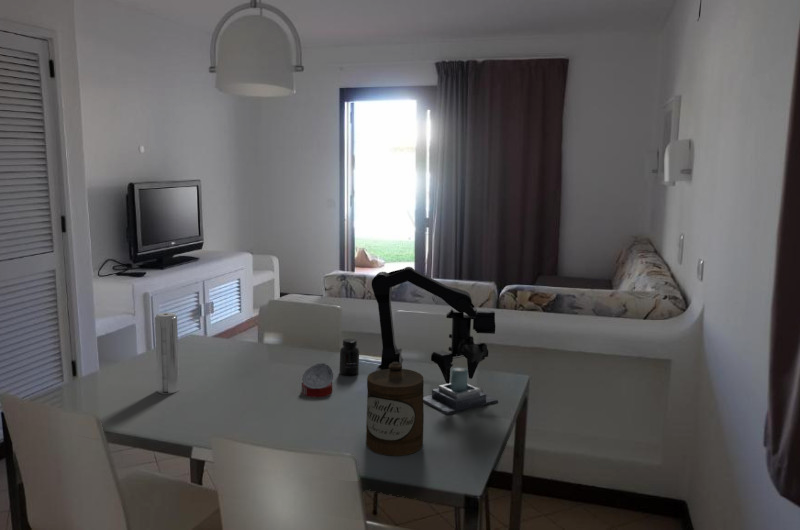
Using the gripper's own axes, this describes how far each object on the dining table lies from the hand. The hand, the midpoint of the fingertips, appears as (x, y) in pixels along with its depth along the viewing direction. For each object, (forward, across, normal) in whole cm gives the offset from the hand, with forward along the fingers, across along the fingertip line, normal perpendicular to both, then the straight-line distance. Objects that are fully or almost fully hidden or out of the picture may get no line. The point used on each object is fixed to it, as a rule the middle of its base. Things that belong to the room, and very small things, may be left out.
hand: (459, 381), depth 190 cm
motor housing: (+6, 0, 0) cm, 6 cm away
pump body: (+4, 0, 0) cm, 4 cm away
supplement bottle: (+7, -16, +41) cm, 45 cm away
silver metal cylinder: (+7, -74, +55) cm, 92 cm away
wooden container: (+7, -34, -15) cm, 38 cm away
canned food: (+7, -34, +30) cm, 46 cm away
